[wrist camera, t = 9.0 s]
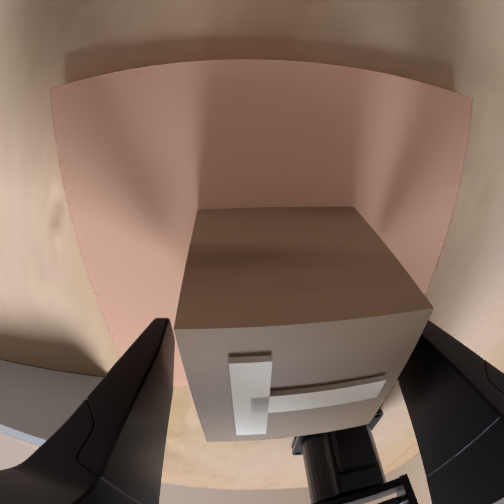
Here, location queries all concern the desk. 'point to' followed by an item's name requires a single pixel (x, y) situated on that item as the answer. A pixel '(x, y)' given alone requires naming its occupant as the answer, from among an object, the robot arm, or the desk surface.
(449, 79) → the desk surface
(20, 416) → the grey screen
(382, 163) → the mat
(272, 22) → the desk surface
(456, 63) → the desk surface
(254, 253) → the walnut cube
